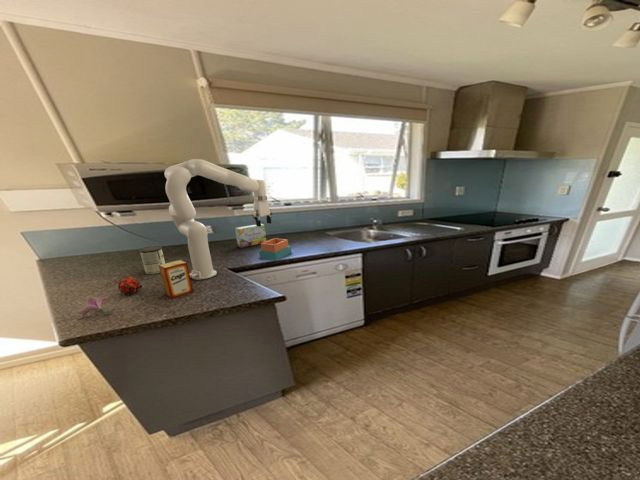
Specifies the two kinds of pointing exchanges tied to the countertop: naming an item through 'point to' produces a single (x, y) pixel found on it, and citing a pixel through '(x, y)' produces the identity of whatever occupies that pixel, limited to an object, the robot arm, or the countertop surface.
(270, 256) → the lower bin
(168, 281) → the baking soda box
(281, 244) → the upper bin
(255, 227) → the snack box
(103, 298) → the lily
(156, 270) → the coffee can
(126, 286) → the dragon fruit
